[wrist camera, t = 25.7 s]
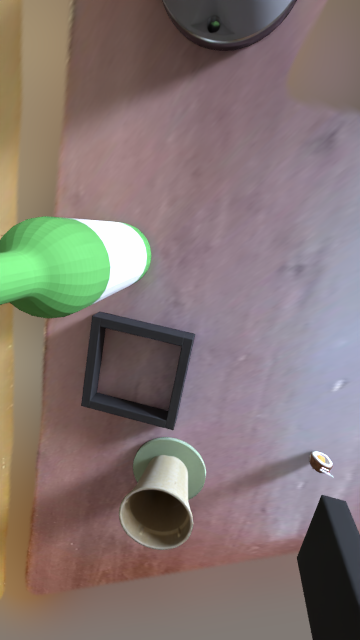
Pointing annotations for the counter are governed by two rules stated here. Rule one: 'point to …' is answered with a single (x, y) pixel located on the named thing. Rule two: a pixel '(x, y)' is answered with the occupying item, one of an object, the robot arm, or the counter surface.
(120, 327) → the holder
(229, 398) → the counter surface
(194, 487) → the coaster
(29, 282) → the wine bottle
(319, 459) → the chocolate
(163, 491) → the flower pot
